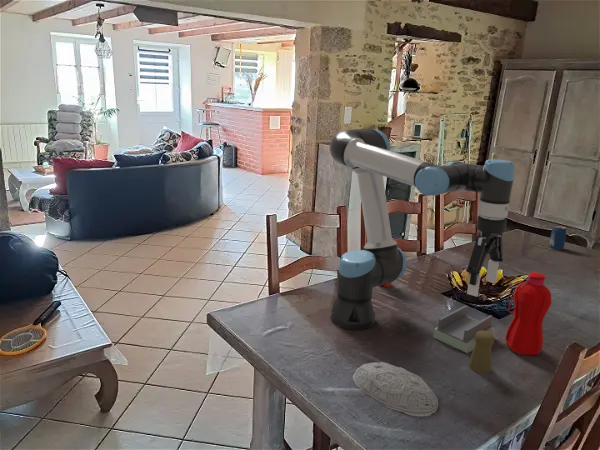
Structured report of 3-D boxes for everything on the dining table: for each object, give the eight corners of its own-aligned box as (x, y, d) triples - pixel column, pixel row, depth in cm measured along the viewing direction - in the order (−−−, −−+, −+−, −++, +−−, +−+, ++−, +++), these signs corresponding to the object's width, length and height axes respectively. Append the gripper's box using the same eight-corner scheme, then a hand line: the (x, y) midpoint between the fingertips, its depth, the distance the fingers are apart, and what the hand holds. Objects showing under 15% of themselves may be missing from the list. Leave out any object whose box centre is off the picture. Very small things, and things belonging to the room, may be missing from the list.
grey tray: (467, 353, 137) (470, 332, 135) (433, 337, 146) (435, 317, 144) (492, 336, 147) (496, 317, 145) (459, 322, 156) (462, 304, 154)
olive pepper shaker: (491, 364, 132) (497, 330, 128) (490, 375, 126) (496, 340, 123) (469, 359, 134) (474, 325, 131) (467, 369, 129) (473, 335, 126)
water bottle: (496, 339, 145) (509, 267, 138) (530, 341, 145) (545, 268, 138) (507, 355, 137) (522, 279, 130) (544, 357, 136) (561, 280, 129)
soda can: (564, 248, 240) (569, 227, 237) (561, 251, 235) (565, 229, 232) (550, 245, 245) (554, 224, 241) (546, 248, 240) (551, 226, 236)
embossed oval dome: (426, 426, 105) (430, 399, 104) (337, 386, 121) (339, 363, 119) (450, 399, 117) (454, 375, 116) (367, 367, 133) (369, 345, 132)
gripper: (488, 227, 113) (477, 305, 119) (521, 212, 131) (510, 280, 137) (460, 221, 118) (450, 296, 124) (495, 207, 136) (485, 273, 141)
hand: (481, 288), depth 130 cm, fingers open, 13 cm apart
